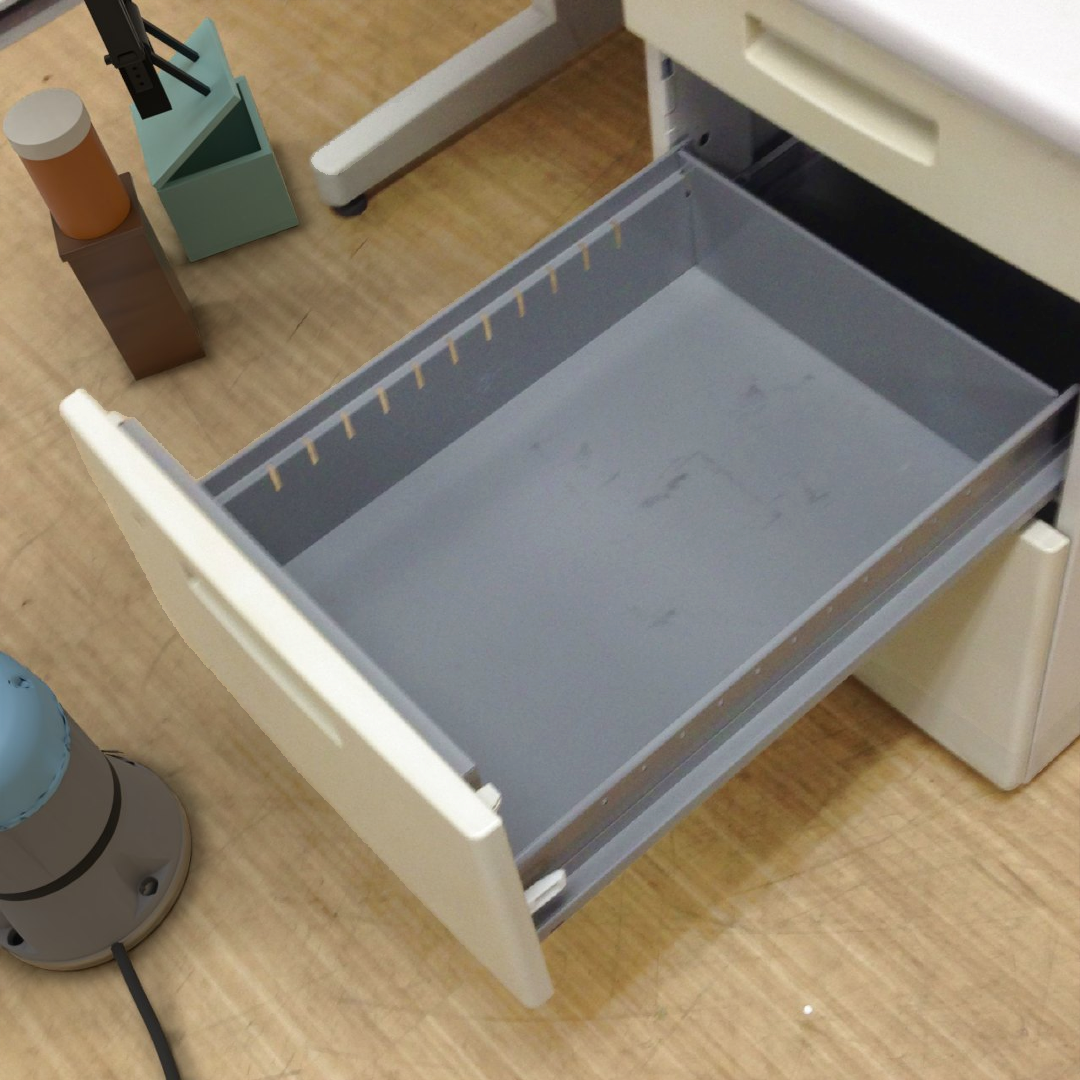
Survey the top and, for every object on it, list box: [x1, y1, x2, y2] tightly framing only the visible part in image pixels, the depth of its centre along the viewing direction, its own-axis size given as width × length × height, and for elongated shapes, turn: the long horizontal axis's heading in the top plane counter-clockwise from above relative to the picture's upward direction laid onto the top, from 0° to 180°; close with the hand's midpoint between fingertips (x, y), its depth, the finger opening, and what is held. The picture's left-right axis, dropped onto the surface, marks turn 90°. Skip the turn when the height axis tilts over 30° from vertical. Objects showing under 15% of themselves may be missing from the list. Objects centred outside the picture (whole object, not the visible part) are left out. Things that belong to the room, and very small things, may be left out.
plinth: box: [48, 171, 206, 381], centre depth 128 cm, size 7×7×16 cm
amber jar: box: [2, 87, 130, 240], centre depth 117 cm, size 6×6×10 cm
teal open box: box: [155, 74, 300, 263], centre depth 140 cm, size 11×12×9 cm
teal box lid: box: [123, 1, 241, 191], centre depth 130 cm, size 11×12×9 cm
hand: (149, 88), depth 131 cm, fingers closed on teal box lid, 6 cm apart
